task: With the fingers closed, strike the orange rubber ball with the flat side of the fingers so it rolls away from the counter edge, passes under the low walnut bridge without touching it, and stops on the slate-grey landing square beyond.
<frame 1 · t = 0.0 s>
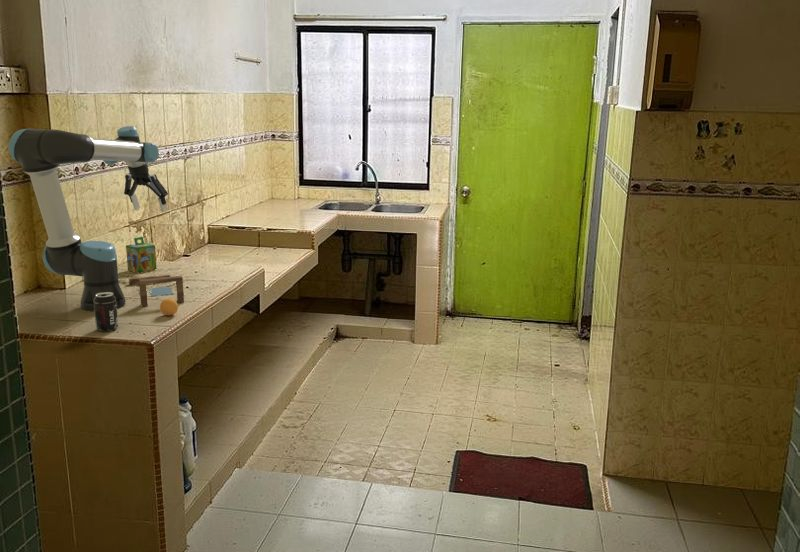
hand: (151, 210, 300), 28 cm above the table, tool tilted 20°, fingers open, 13 cm apart
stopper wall: (150, 282, 291), on the table
chalk box: (142, 270, 313), on the table
ball: (169, 306, 247), on the table
beverage can: (107, 329, 232), on the table
bridge: (162, 303, 261), on the table
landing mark: (155, 292, 277), on the table
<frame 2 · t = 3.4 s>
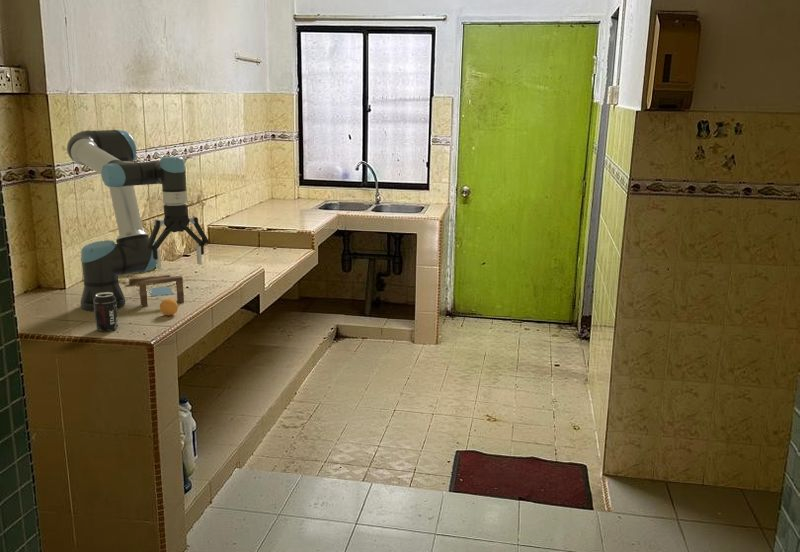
hand: (179, 266, 238), 19 cm above the table, tool pointing down, fingers open, 13 cm apart
nothing on the table moved.
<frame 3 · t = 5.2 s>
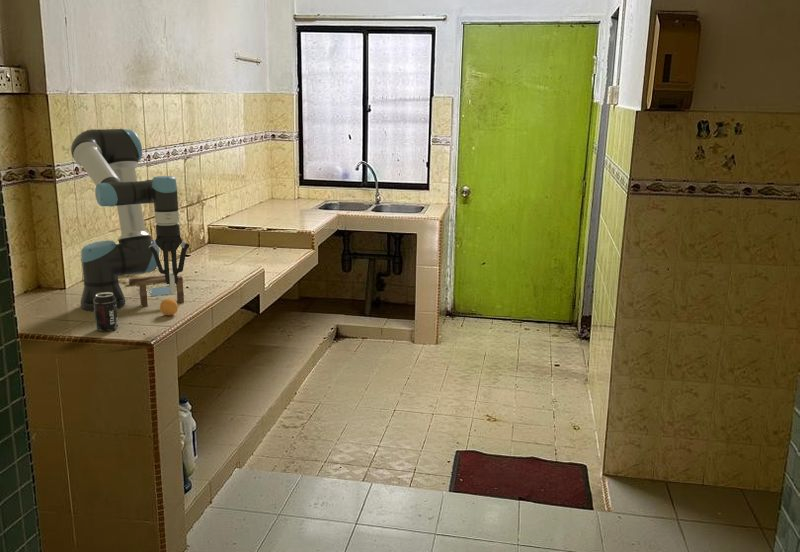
hand: (172, 293, 237), 11 cm above the table, tool pointing down, fingers closed
nothing on the table moved.
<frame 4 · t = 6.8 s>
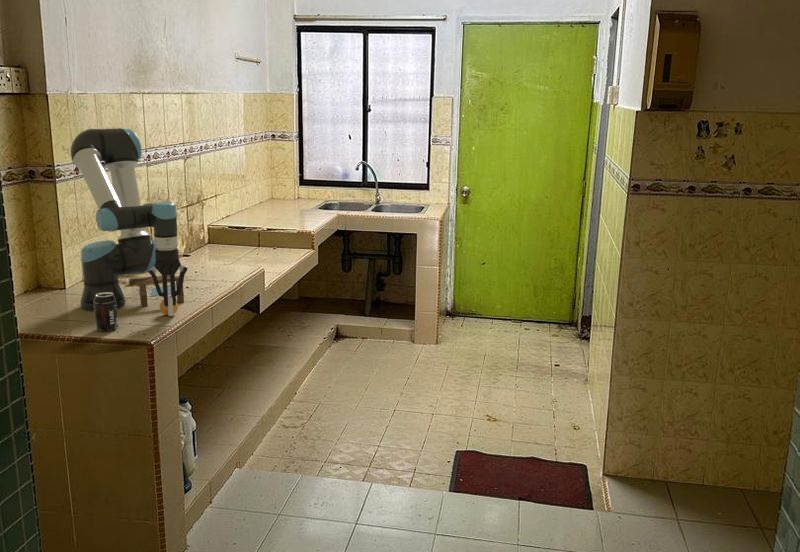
hand: (170, 314, 244), 1 cm above the table, tool pointing down, fingers closed
ball: (168, 306, 247), on the table, touching gripper
everything else where it was.
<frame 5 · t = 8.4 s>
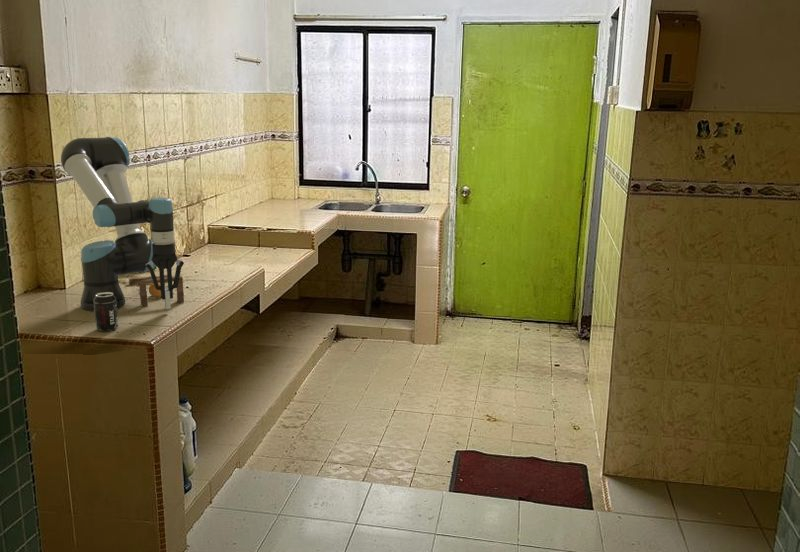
hand: (167, 307, 250), 2 cm above the table, tool pointing down, fingers closed
ball: (157, 289, 270), on the table
everything else where it was.
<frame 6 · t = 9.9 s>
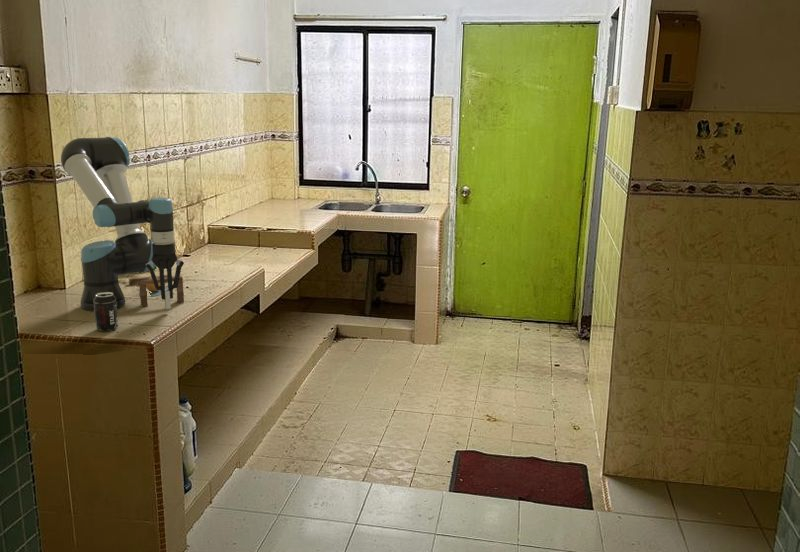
hand: (167, 307, 250), 2 cm above the table, tool pointing down, fingers closed
ball: (153, 284, 277), on the table
everything else where it was.
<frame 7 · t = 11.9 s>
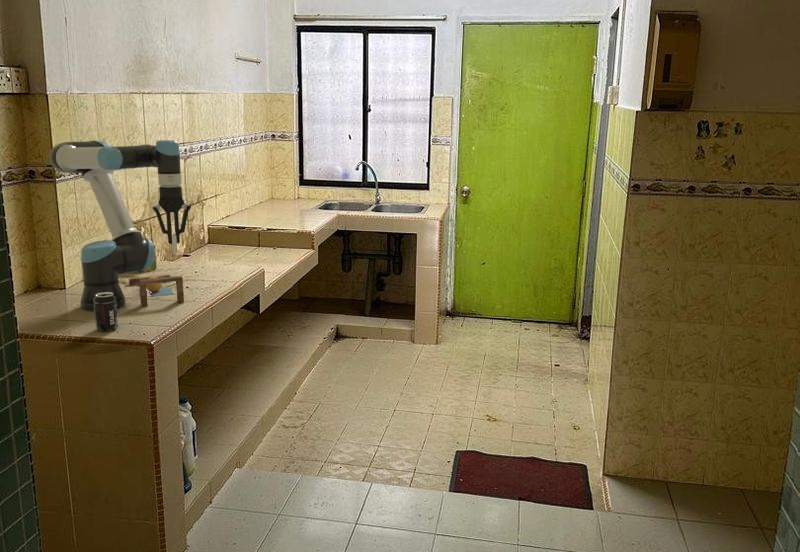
hand: (174, 252, 248), 21 cm above the table, tool pointing down, fingers closed
nothing on the table moved.
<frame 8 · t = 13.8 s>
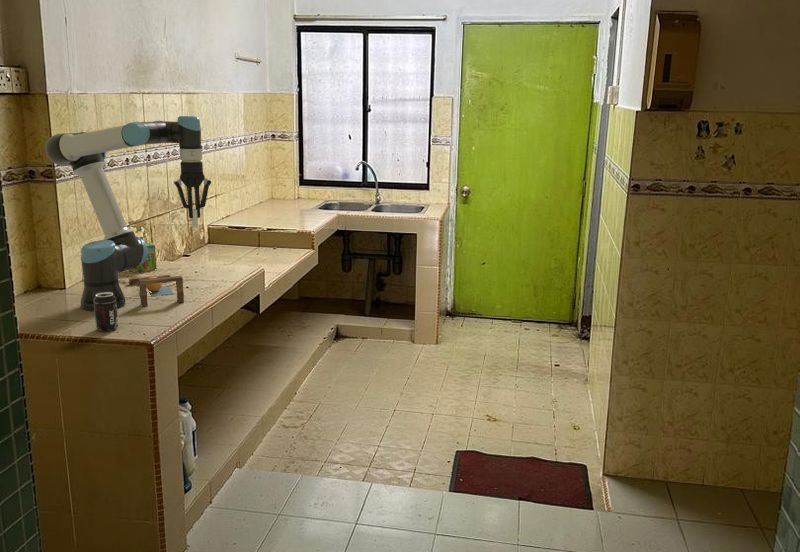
hand: (195, 227, 253), 29 cm above the table, tool pointing down, fingers closed
nothing on the table moved.
at the end: ball 1.2 cm from the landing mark (horizontally); ball never touched bridge; ball at rest at the end (0.0 cm/s) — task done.
